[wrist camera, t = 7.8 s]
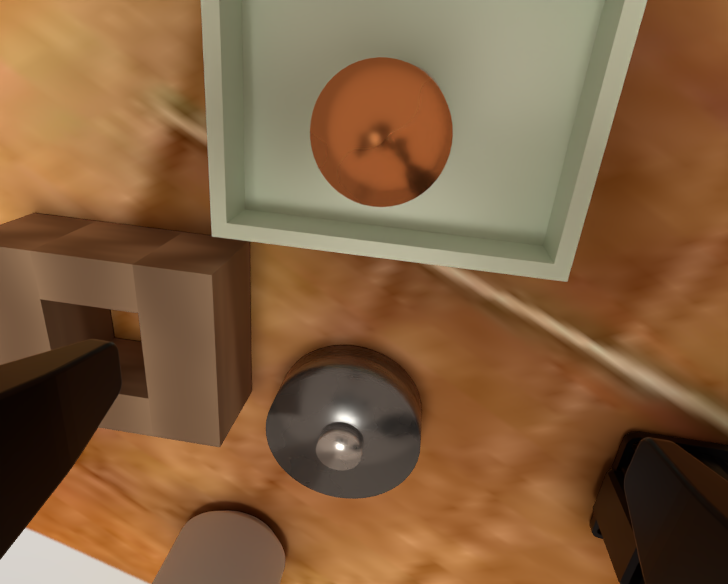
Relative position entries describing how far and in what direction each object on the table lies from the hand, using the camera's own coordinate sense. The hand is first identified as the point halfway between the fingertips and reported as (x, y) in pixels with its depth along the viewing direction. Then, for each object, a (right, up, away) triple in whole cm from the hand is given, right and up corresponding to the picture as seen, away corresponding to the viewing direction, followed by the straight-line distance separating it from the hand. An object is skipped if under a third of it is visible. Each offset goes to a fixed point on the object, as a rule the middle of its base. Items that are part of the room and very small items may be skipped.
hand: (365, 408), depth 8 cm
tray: (+2, +9, +10) cm, 13 cm away
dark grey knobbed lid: (-1, -4, +16) cm, 16 cm away
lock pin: (+1, +9, +9) cm, 13 cm away
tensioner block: (-10, +1, +15) cm, 18 cm away
